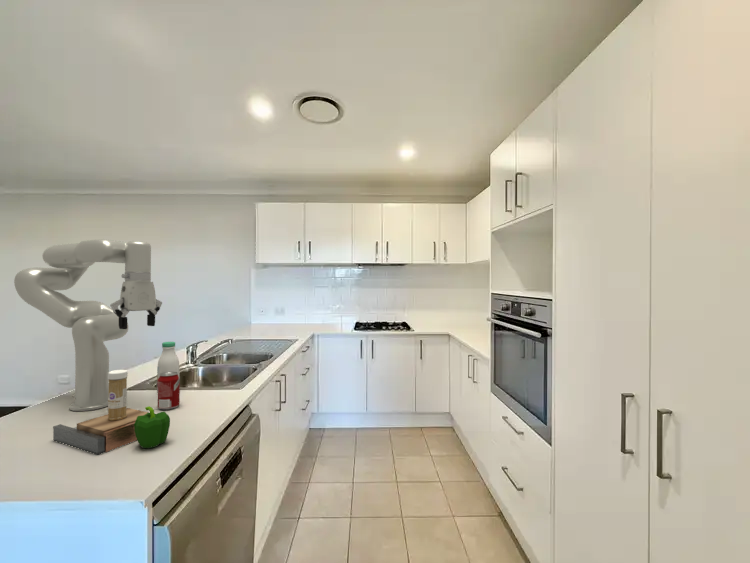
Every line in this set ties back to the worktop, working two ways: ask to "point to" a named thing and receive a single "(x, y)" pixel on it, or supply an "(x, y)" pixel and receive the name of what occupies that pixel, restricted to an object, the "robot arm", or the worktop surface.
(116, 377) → the sprinkles bottle
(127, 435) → the roller track
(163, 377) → the soda can
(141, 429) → the bell pepper
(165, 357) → the milk bottle
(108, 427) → the slab
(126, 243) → the robot arm
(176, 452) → the worktop surface
